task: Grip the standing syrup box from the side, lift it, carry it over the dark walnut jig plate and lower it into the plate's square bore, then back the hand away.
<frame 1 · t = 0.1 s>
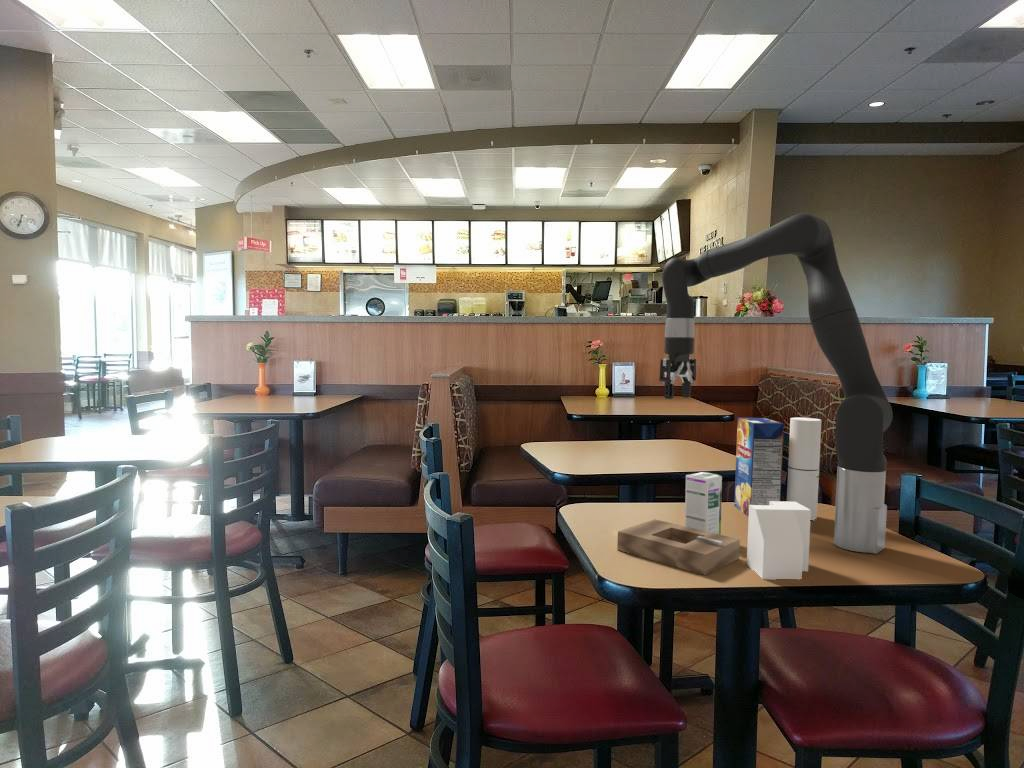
hand: (677, 398, 171), 29 cm above the table, tool pointing down, fingers open, 8 cm apart
syrup box: (702, 539, 145), on the table
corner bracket: (778, 570, 126), on the table
cylindrical container: (801, 517, 165), on the table
juice carton: (756, 512, 170), on the table
jig: (677, 554, 134), on the table
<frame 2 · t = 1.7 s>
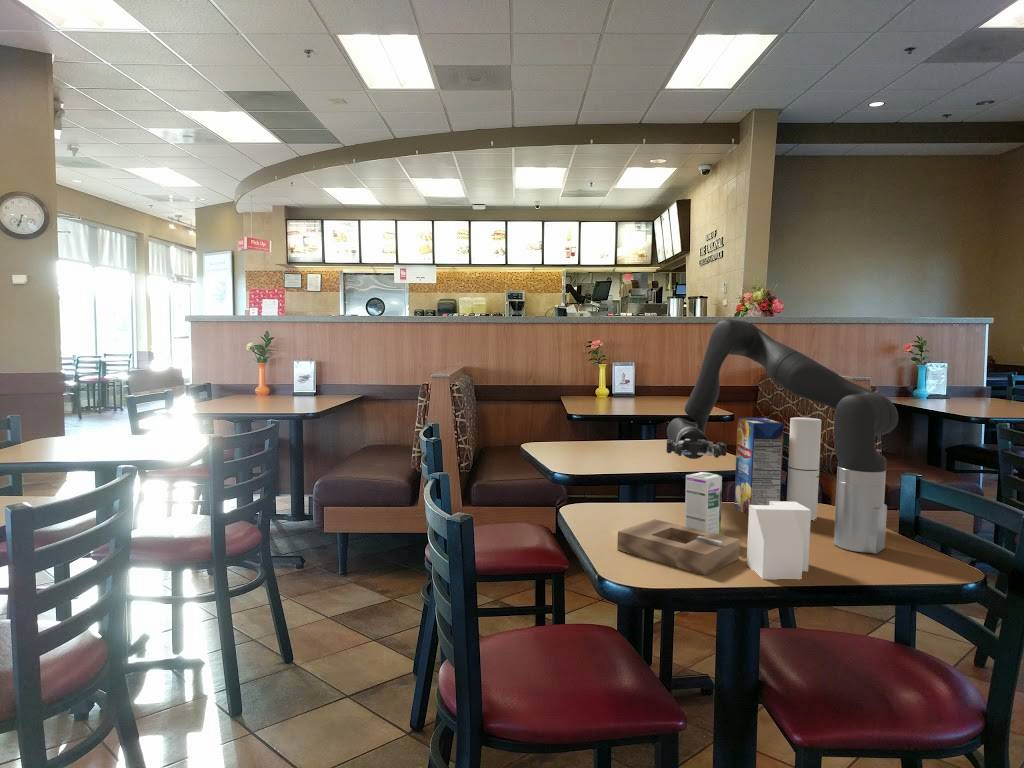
hand: (698, 452, 155), 18 cm above the table, tool horizontal, fingers open, 8 cm apart
nothing on the table moved.
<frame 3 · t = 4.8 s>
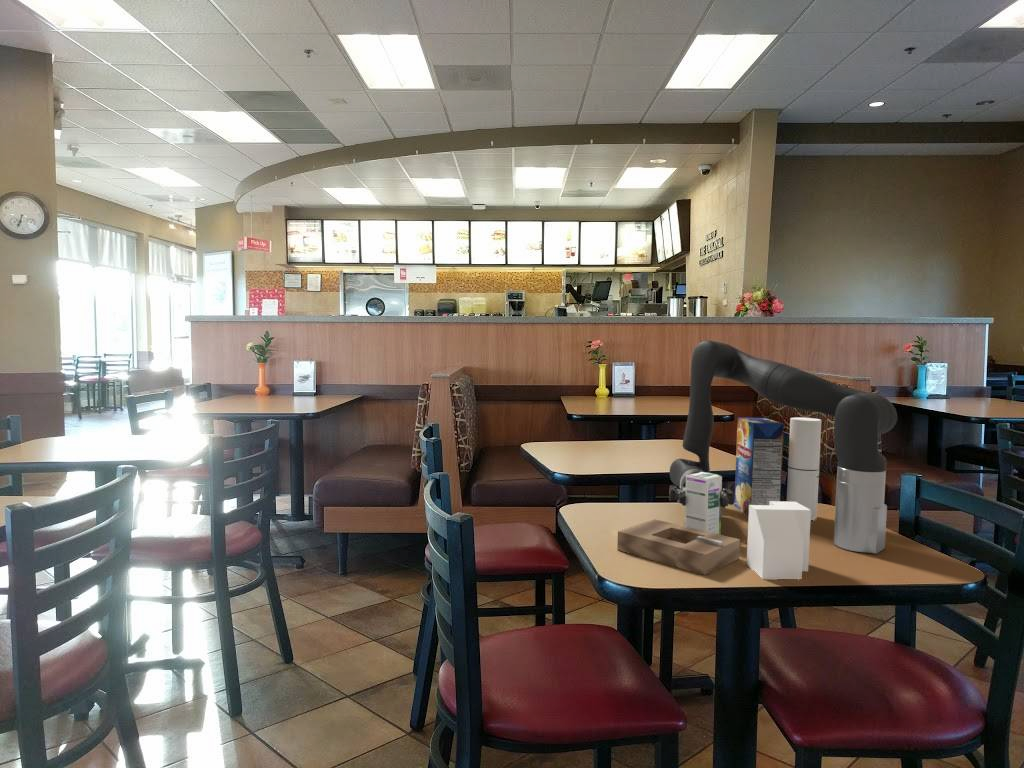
hand: (704, 502, 144), 9 cm above the table, tool horizontal, fingers open, 8 cm apart
syrup box: (702, 539, 145), on the table, touching gripper
everything else where it was.
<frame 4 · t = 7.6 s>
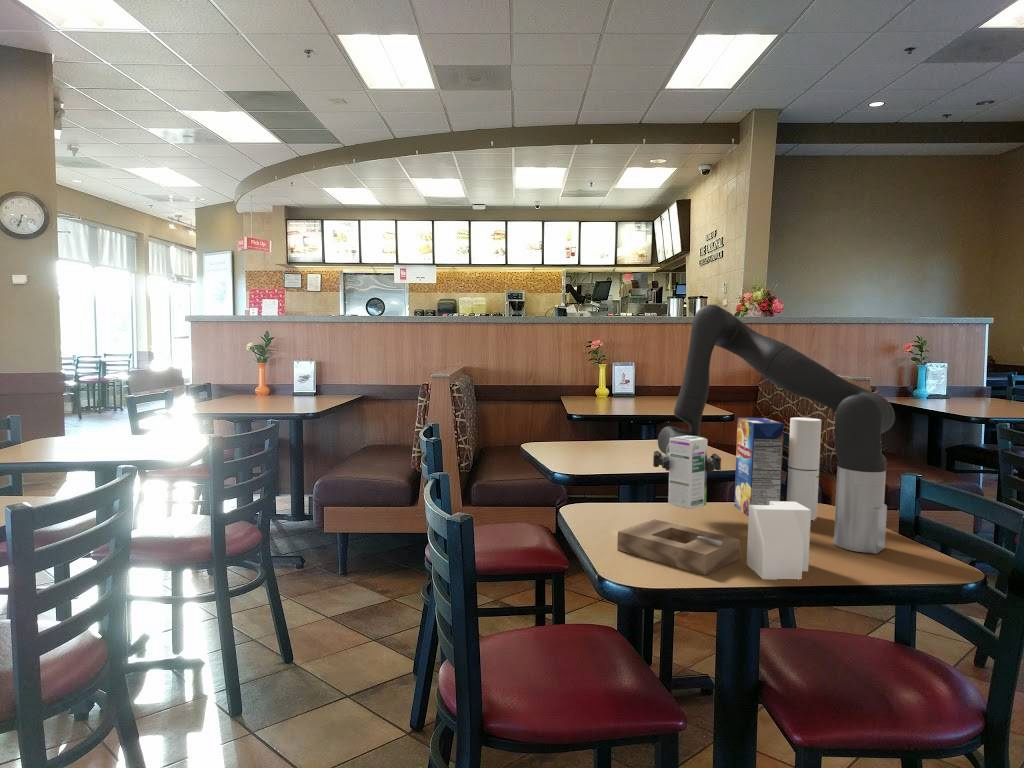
hand: (688, 466, 136), 18 cm above the table, tool horizontal, fingers closed on syrup box, 8 cm apart
syrup box: (686, 505, 138), point 9 cm above the table, touching gripper
everything else where it was.
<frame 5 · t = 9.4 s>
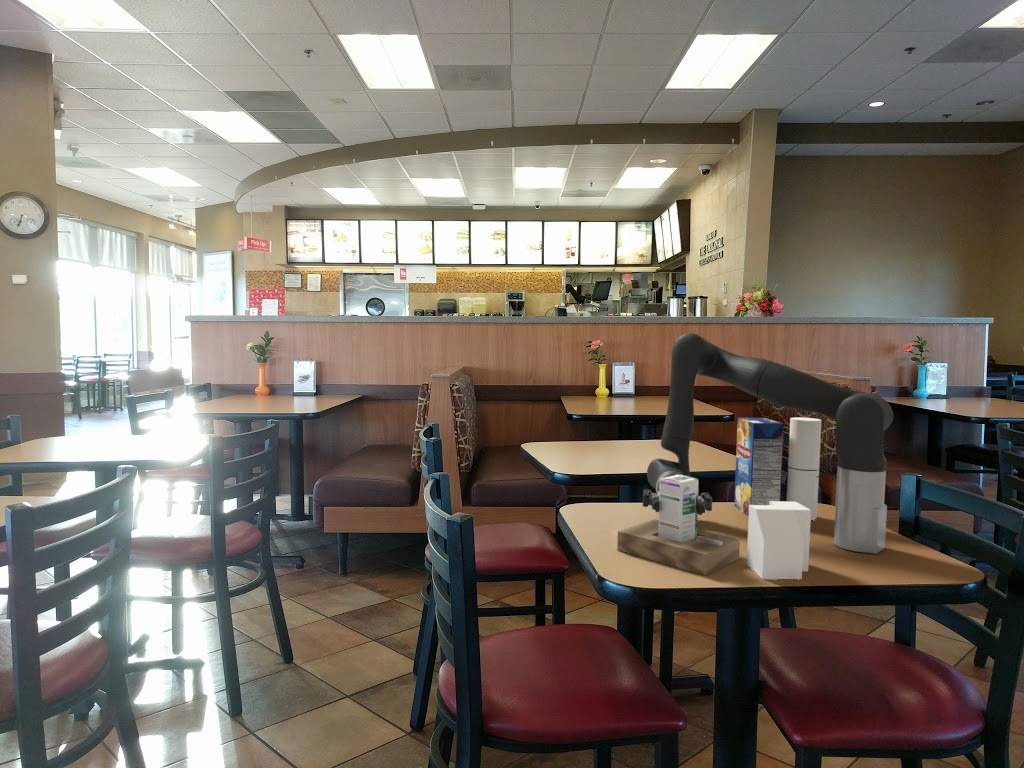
hand: (679, 508, 132), 10 cm above the table, tool horizontal, fingers closed on syrup box, 8 cm apart
syrup box: (676, 547, 134), point 1 cm above the table, touching gripper
everything else where it was.
when the fingers open (10 cm above the table, at t = 10.2 s): syrup box drops 1 cm, resting in jig.
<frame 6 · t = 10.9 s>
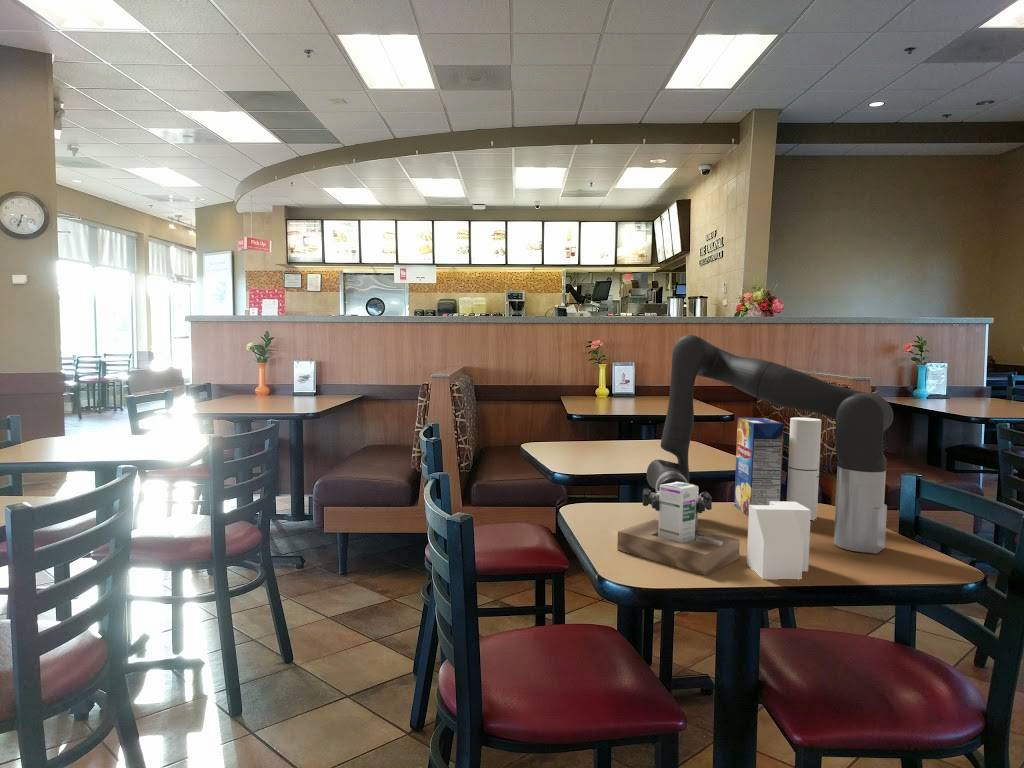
hand: (679, 507, 133), 10 cm above the table, tool horizontal, fingers open, 8 cm apart
syrup box: (676, 554, 134), resting in jig
everything else where it was.
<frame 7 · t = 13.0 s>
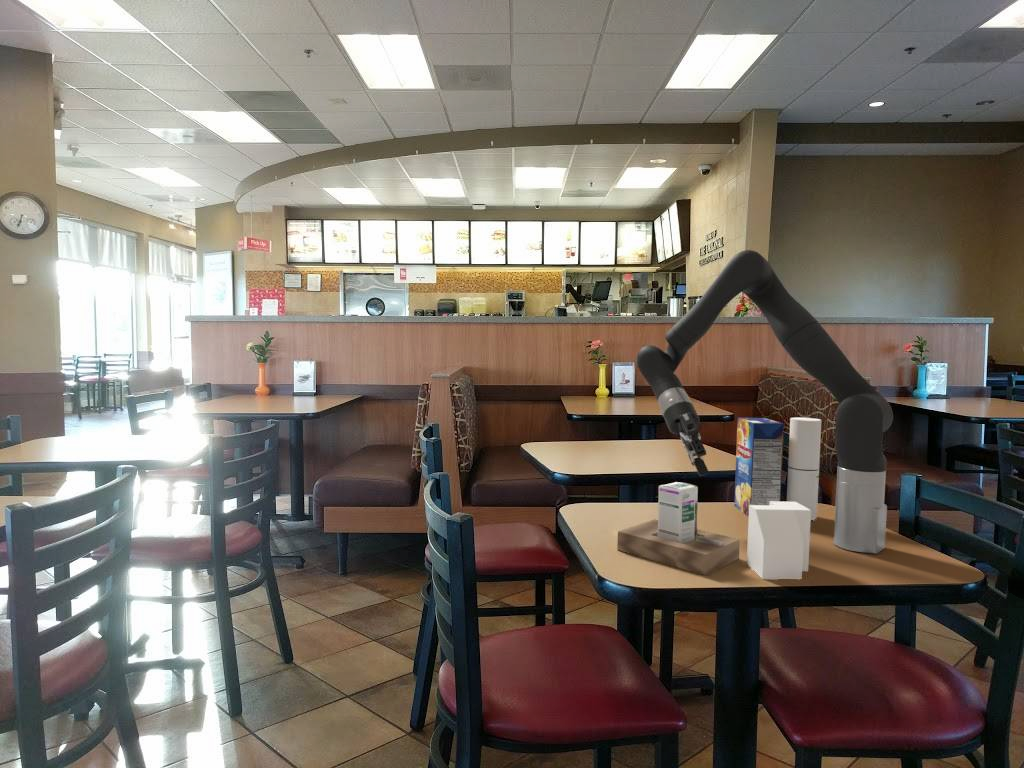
hand: (703, 465, 147), 16 cm above the table, tool tilted 45°, fingers open, 8 cm apart
nothing on the table moved.
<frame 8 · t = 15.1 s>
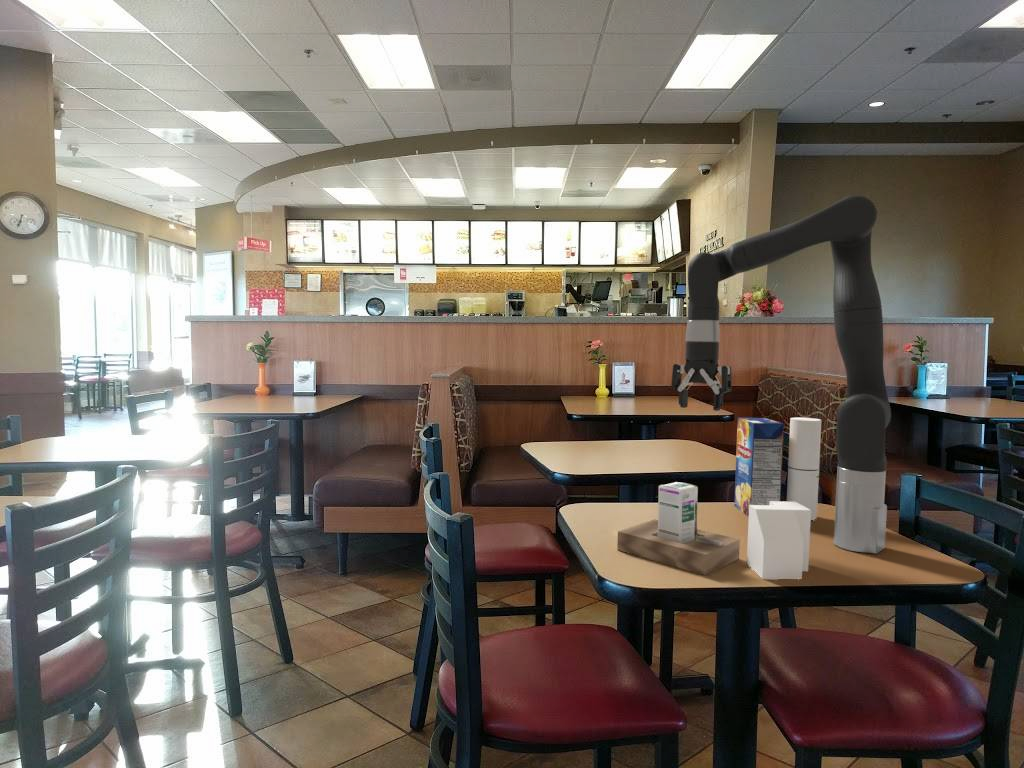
hand: (699, 408, 154), 28 cm above the table, tool pointing down, fingers open, 8 cm apart
nothing on the table moved.
at the end: syrup box 0.2 cm off-centre on the jig, point 0.0 cm above the jig's base; syrup box tilted 0°; the gripper is holding nothing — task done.
